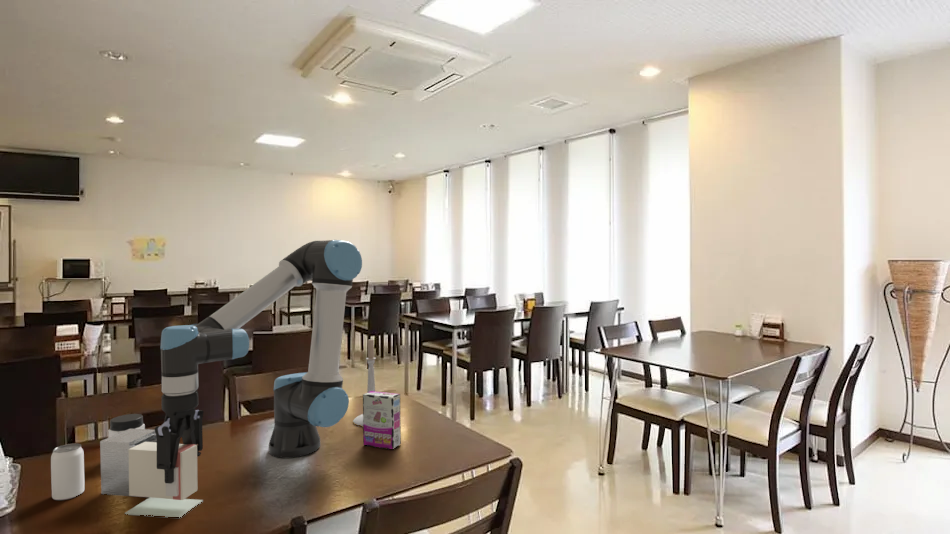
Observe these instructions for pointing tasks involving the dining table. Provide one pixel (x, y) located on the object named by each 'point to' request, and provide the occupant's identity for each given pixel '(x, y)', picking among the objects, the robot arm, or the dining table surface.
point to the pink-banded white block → (161, 471)
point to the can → (67, 471)
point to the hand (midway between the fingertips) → (181, 489)
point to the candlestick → (371, 380)
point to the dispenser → (120, 459)
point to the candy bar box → (381, 419)
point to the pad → (164, 507)
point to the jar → (125, 423)
